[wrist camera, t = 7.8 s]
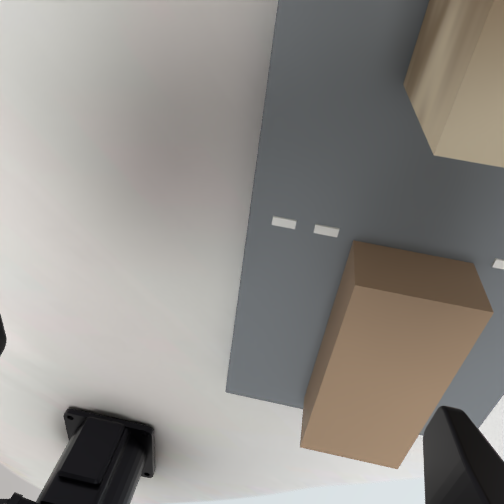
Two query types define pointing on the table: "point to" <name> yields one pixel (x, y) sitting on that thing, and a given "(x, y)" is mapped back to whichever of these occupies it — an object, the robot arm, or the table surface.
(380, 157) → the board
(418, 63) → the stub
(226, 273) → the table surface
